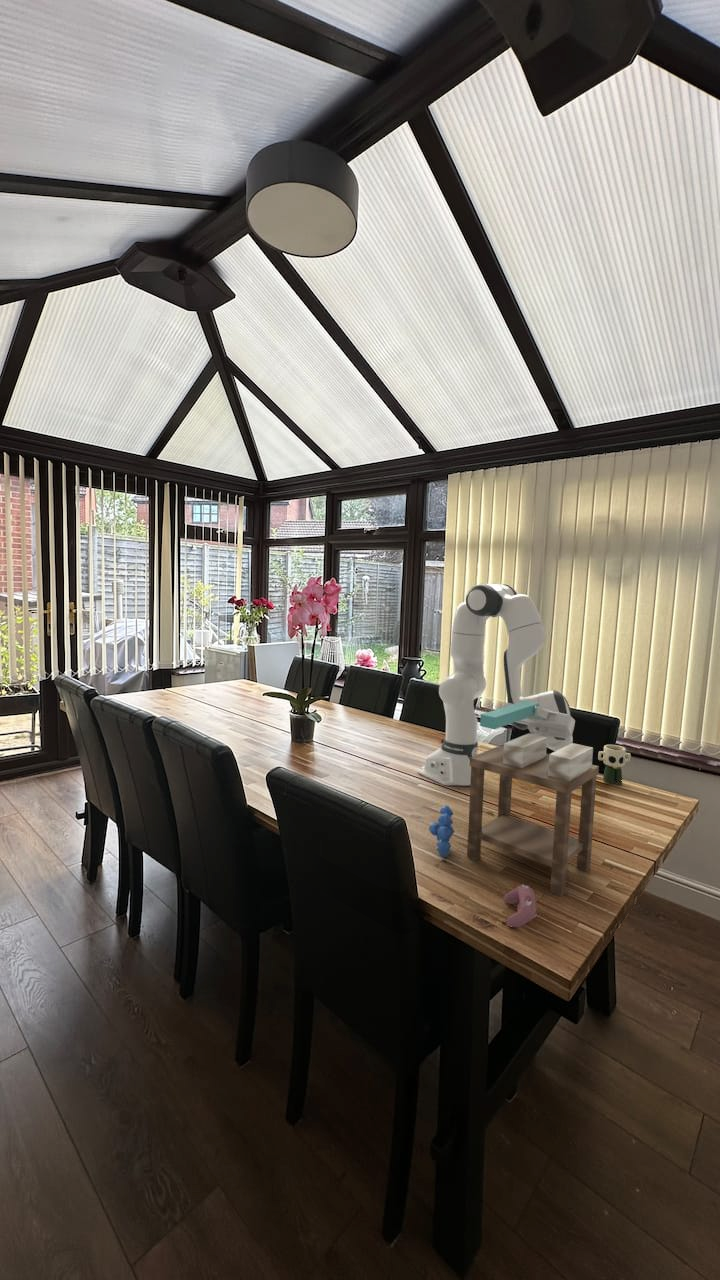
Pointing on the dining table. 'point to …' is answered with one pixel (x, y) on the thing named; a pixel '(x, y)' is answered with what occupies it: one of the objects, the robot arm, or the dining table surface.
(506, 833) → the shelf
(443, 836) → the grapes
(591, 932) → the dining table surface
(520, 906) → the video game controller
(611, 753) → the character mug
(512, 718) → the module bar
